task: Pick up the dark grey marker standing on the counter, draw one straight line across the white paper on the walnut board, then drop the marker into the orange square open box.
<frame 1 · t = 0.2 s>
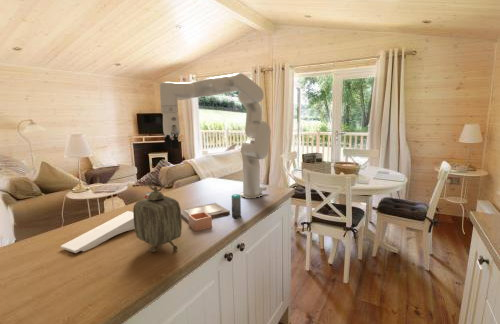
hand: (171, 147, 128), 31 cm above the worktop, tool pointing down, fingers open, 9 cm apart
marker: (236, 216, 125), on the worktop
soda can: (154, 219, 123), on the worktop
tabletop clock: (158, 250, 95), on the worktop
orange square open box: (200, 226, 114), on the worktop
white wedge: (106, 238, 105), on the worktop
writing board: (203, 213, 129), on the worktop
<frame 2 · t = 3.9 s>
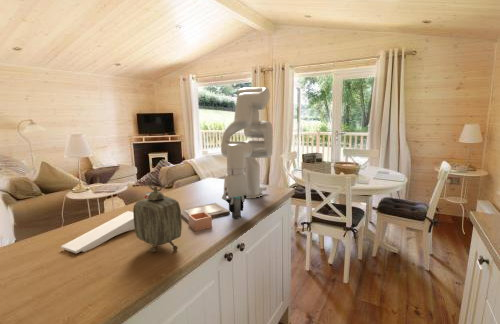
hand: (236, 210, 124), 3 cm above the worktop, tool pointing down, fingers closed on marker, 4 cm apart
marker: (236, 216, 125), on the worktop, touching gripper
everything else where it was.
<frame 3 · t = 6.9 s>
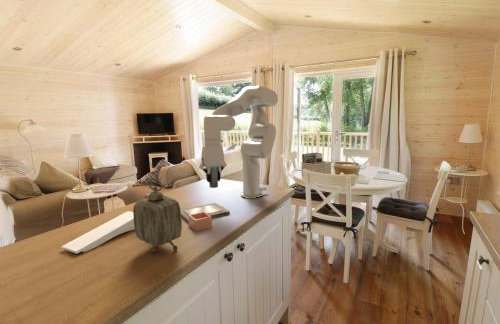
hand: (213, 181, 130), 15 cm above the worktop, tool pointing down, fingers closed on marker, 4 cm apart
marker: (213, 186, 130), point 12 cm above the worktop, touching gripper
everything else where it was.
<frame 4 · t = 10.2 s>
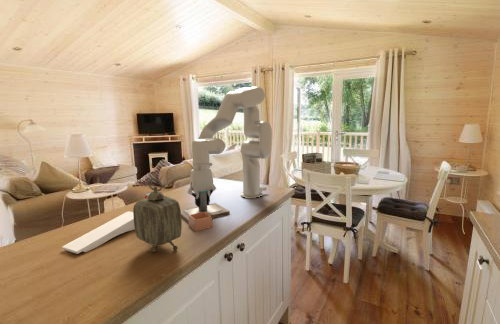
hand: (202, 204, 128), 4 cm above the worktop, tool pointing down, fingers closed on marker, 4 cm apart
marker: (202, 210, 129), point 2 cm above the worktop, touching gripper
everything else where it was.
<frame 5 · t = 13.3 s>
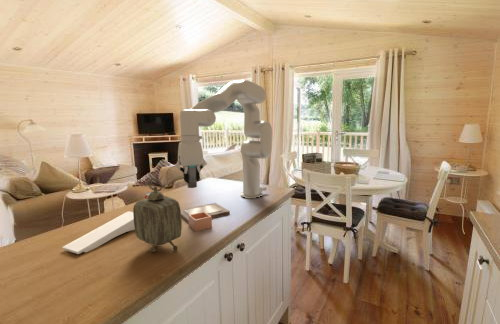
hand: (191, 180, 119), 17 cm above the worktop, tool pointing down, fingers closed on marker, 4 cm apart
marker: (192, 186, 120), point 15 cm above the worktop, touching gripper
everything else where it was.
when the fingers open (5 cm above the worktop, at t = 16.4 s): marker drops 2 cm, resting on orange square open box.
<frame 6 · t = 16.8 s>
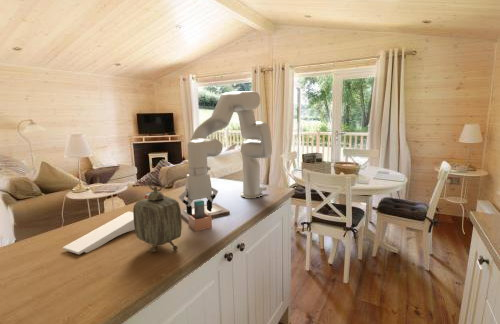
hand: (199, 212, 113), 6 cm above the worktop, tool pointing down, fingers open, 8 cm apart
marker: (200, 224, 114), point 1 cm above the worktop, touching orange square open box
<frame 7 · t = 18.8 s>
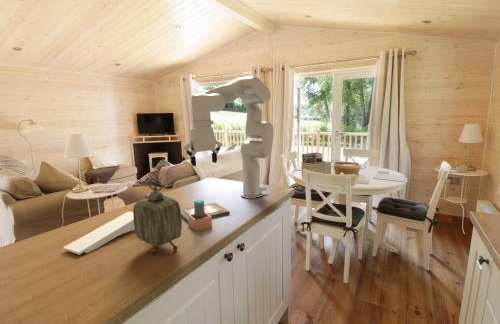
hand: (204, 164, 119), 25 cm above the worktop, tool pointing down, fingers open, 9 cm apart
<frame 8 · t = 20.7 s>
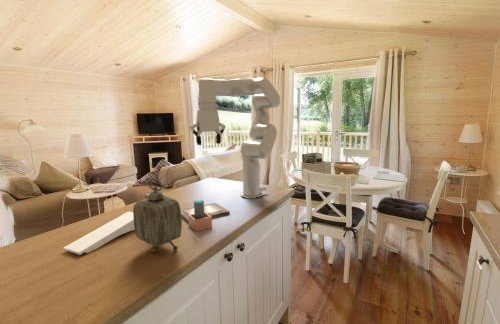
hand: (209, 144, 128), 32 cm above the worktop, tool pointing down, fingers open, 9 cm apart
at the end: marker 0.1 cm off-centre on the orange square open box, point 0.7 cm above the orange square open box's base; marker tilted 2°; the gripper is holding nothing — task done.
